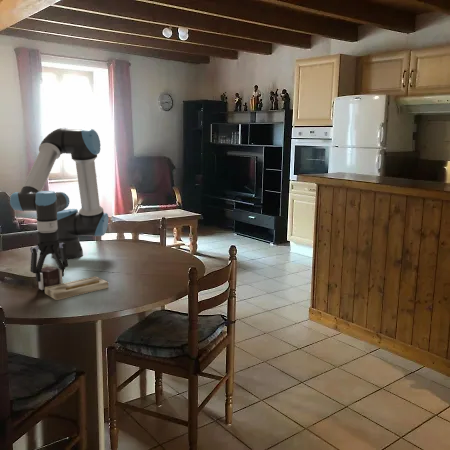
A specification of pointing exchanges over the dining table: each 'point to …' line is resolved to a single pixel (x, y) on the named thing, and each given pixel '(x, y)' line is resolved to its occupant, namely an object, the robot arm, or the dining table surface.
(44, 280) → the box
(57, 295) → the board
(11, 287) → the dining table surface
